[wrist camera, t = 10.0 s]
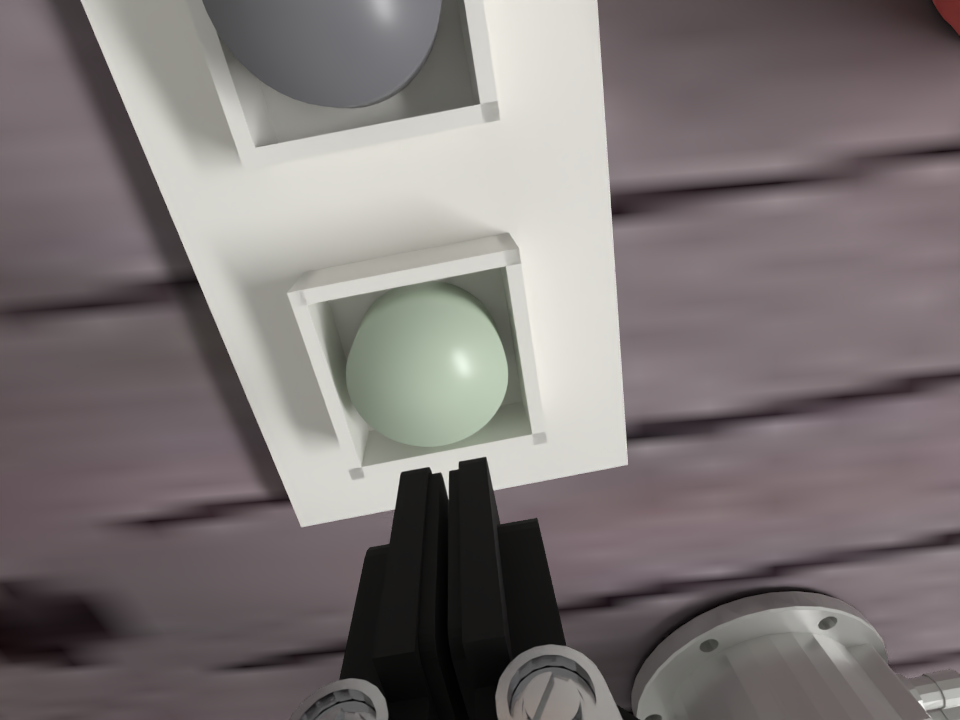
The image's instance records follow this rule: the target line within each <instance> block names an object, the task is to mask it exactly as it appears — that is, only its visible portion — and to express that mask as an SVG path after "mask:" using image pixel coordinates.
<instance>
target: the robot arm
mask: <svg viewBox="0 0 960 720" xmlns="http://www.w3.org/2000/svg"><path fill="white" fill-rule="evenodd" d="M887 661H888V654H887V651H886V647H885V644H884V641H883V639H882V638H881V637H880V635H879V634H878V633H877V631H876V630H875V629H874V627H873V626H872V625H871V624H870V623H869V622H868V620H867V619H866V618H865V617H864V616H863V615H862V614H861V613H860V612H859V611H858V610H857V609H856V608H854V607H852V606H851V605H849V604H847V603H845V602H843V601H841V600H840V599H836V598H833V597H829V596H826V595H823V594H818V593H808V592H798V591H788V592H770V593H765V594H760V595H754V596H749V597H744V598H741V599H738V600H735V601H732V602H729V603H726V604H723V605H720V606H718V607H716V608H714V609H711V610H709V611H707V612H705V613H703V614H701V615H699V616H697V617H695V618H693V619H692V620H690V621H689V622H687V623H686V624H684V625H682V626H681V627H679V628H678V629H676V630H675V631H674V632H673V633H672V634H670V635H669V636H668V637H667V638H666V639H665V640H663V641H662V642H661V643H660V644H659V645H658V646H657V647H656V648H655V650H654V651H653V652H652V653H651V654H650V656H649V657H648V658H647V659H646V660H645V662H644V664H643V666H642V667H641V669H640V671H639V673H638V675H637V676H636V679H635V682H634V686H633V690H632V693H631V702H632V711H633V714H634V715H632V714H630V713H629V712H627V711H626V710H624V709H623V708H621V707H620V706H618V705H616V704H615V701H614V699H613V697H612V695H611V693H610V690H609V688H608V686H607V684H606V682H605V679H604V677H603V676H602V674H601V673H600V671H599V670H598V668H597V667H596V665H595V664H594V663H593V662H592V661H591V660H590V659H588V658H587V657H586V656H585V655H584V654H582V653H581V652H579V651H576V650H574V649H572V648H569V647H567V646H566V643H565V638H564V634H563V629H562V625H561V620H560V616H559V612H558V607H557V603H556V598H555V594H554V590H553V585H552V581H551V576H550V572H549V568H548V563H547V559H546V554H545V550H544V545H543V541H542V537H541V532H540V528H539V524H538V520H537V518H534V519H529V520H523V521H517V522H512V523H506V524H500V521H499V516H498V511H497V506H496V501H495V496H494V491H493V486H492V481H491V476H490V472H489V467H488V462H487V458H486V457H481V458H476V459H470V460H465V461H459V469H457V470H451V471H449V499H448V495H447V491H446V487H445V483H444V479H443V476H442V473H441V472H440V473H434V474H432V471H431V469H430V467H425V468H420V469H414V470H409V471H403V472H401V474H400V480H399V486H398V493H397V499H396V506H395V512H394V519H393V525H392V532H391V538H390V544H387V545H381V546H375V547H370V548H369V549H368V550H367V552H366V556H365V559H364V564H363V569H362V574H361V579H360V583H359V588H358V593H357V598H356V603H355V607H354V612H353V617H352V622H351V626H350V631H349V636H348V641H347V646H346V650H345V655H344V660H343V665H342V669H341V674H340V679H339V680H338V681H334V682H332V683H330V684H328V685H326V686H324V687H321V688H319V689H318V690H317V691H316V692H314V693H313V694H312V695H310V696H309V697H308V698H306V699H305V700H304V701H303V702H302V703H301V705H300V706H299V707H298V708H297V709H296V710H295V711H294V713H293V714H292V715H291V717H290V719H289V720H960V674H959V673H957V672H956V671H954V670H951V669H948V670H942V671H937V672H932V673H927V674H923V675H922V676H920V677H915V678H910V679H907V678H905V677H904V676H902V675H901V674H895V673H894V672H893V671H892V669H891V668H890V667H889V666H888V665H887Z"/></svg>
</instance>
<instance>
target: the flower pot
mask: <svg viewBox="0 0 960 720" xmlns="http://www.w3.org/2000/svg"><path fill="white" fill-rule="evenodd" d="M933 3H934V5H935V7H936V9H937V10H938V11H939V13H940V14H941V16H942V17H943V18H944V20H946V21H947V22H948V23H949V24H950V25H951V26H952V27H953V28H954V30H955V31H956V32H957V33H958V34H959V36H960V0H933Z"/></svg>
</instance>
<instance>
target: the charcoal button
mask: <svg viewBox="0 0 960 720" xmlns="http://www.w3.org/2000/svg"><path fill="white" fill-rule="evenodd" d="M202 1H203V4H204V7H205V9H206V12H207V14H208V16H209V18H210V20H211V21H212V23H213V25H214V27H215V29H216V31H217V32H218V34H219V35H220V37H221V38H222V40H223V42H224V43H225V45H226V46H227V47H228V48H229V50H230V51H231V52H232V53H233V55H234V56H235V57H236V58H237V59H238V61H239V62H240V63H241V64H242V65H243V66H245V67H246V68H247V69H248V70H249V71H250V72H251V73H252V74H253V75H254V76H256V77H257V78H258V79H259V80H261V81H262V82H263V83H265V84H266V85H268V86H269V87H271V88H273V89H274V90H276V91H278V92H279V93H281V94H284V95H286V96H288V97H290V98H292V99H295V100H298V101H302V102H305V103H308V104H313V105H319V106H326V107H334V108H349V109H354V108H363V107H368V106H372V105H375V104H378V103H381V102H383V101H385V100H388V99H390V98H391V97H393V96H394V95H396V94H398V93H399V92H400V91H402V90H403V89H404V88H405V87H406V86H407V85H409V84H410V83H411V81H412V80H413V79H414V78H415V77H416V76H417V75H418V73H419V72H420V70H421V69H422V67H423V66H424V64H425V63H426V61H427V59H428V57H429V55H430V53H431V51H432V48H433V45H434V42H435V40H436V37H437V32H438V28H439V23H440V15H441V3H442V0H202Z"/></svg>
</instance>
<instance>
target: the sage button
mask: <svg viewBox="0 0 960 720" xmlns="http://www.w3.org/2000/svg"><path fill="white" fill-rule="evenodd" d="M346 383H347V388H348V393H349V396H350V398H351V401H352V403H353V405H354V407H355V408H356V410H357V412H358V413H359V414H360V416H361V417H362V418H363V419H364V420H365V421H366V422H367V423H368V424H369V425H370V426H371V427H372V428H373V429H375V430H376V431H377V432H379V433H380V434H382V435H384V436H385V437H387V438H389V439H392V440H394V441H396V442H400V443H403V444H407V445H412V446H420V447H436V446H443V445H448V444H452V443H455V442H458V441H460V440H463V439H465V438H467V437H469V436H471V435H473V434H474V433H476V432H477V431H479V430H480V429H481V428H482V427H484V426H485V425H486V424H487V423H488V422H489V421H490V420H491V419H492V417H493V416H494V415H495V413H496V412H497V410H498V409H499V407H500V405H501V403H502V401H503V399H504V396H505V393H506V389H507V384H508V366H507V361H506V357H505V353H504V350H503V346H502V343H501V339H500V336H499V333H498V329H497V326H496V324H495V321H494V319H493V317H492V316H491V314H490V312H489V311H488V310H487V308H486V307H485V306H484V305H483V304H482V303H481V302H480V301H479V300H478V299H477V298H476V297H475V296H473V295H472V294H471V293H469V292H468V291H466V290H464V289H462V288H460V287H458V286H455V285H453V284H449V283H445V282H441V281H433V280H432V281H427V282H422V283H417V284H411V285H406V286H401V287H396V288H393V289H391V290H389V291H388V292H386V293H385V294H383V295H382V296H381V297H379V298H378V299H377V300H376V301H375V302H374V303H373V304H372V305H371V306H370V308H369V309H368V310H367V312H366V313H365V315H364V317H363V319H362V321H361V323H360V326H359V329H358V331H357V334H356V337H355V339H354V342H353V345H352V348H351V350H350V353H349V356H348V360H347V365H346Z"/></svg>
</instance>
